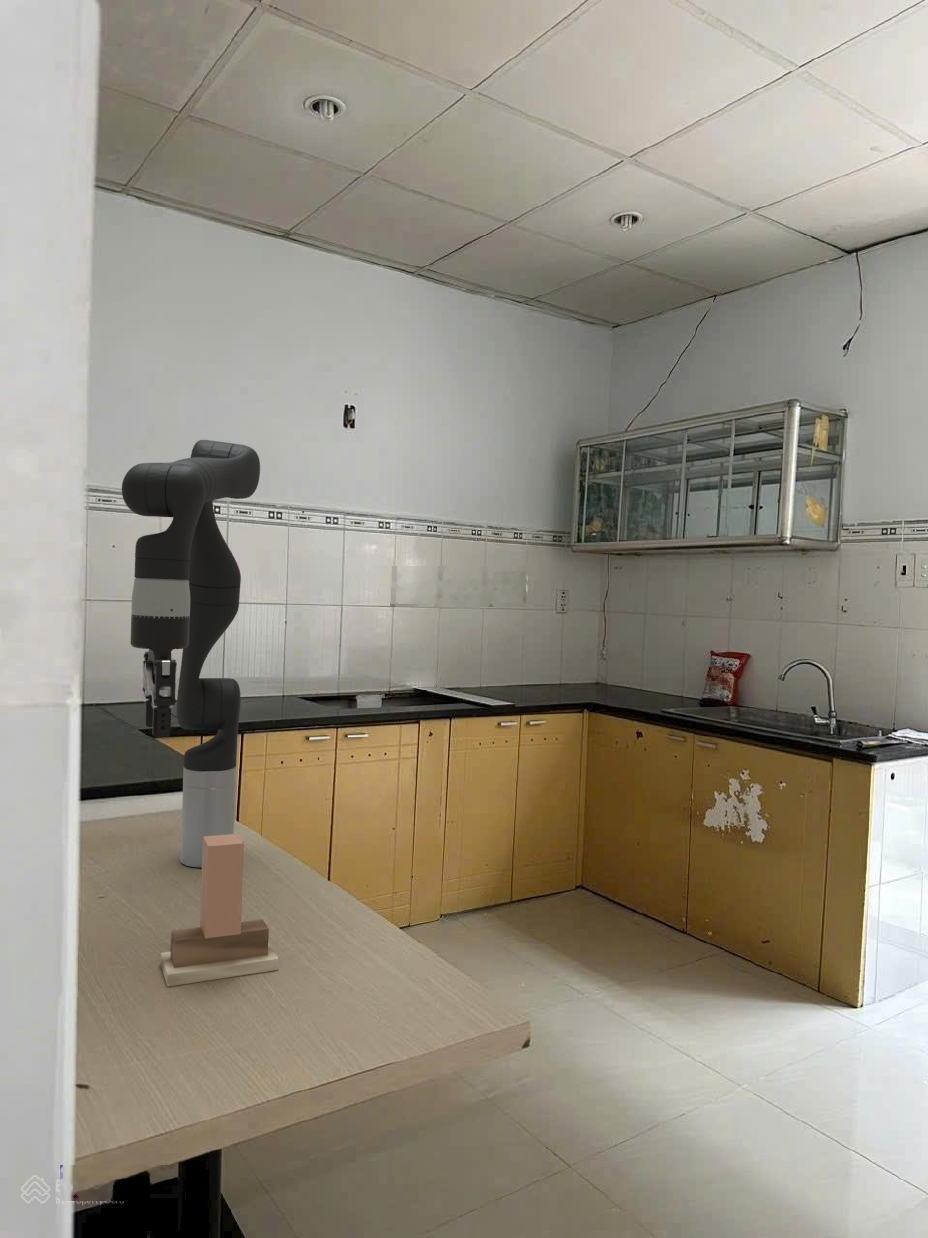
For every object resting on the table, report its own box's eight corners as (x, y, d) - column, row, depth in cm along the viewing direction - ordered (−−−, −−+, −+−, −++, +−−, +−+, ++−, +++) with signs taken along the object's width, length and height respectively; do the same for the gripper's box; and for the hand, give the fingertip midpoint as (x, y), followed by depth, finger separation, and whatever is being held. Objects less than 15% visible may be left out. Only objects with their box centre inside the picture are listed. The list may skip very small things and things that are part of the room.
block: (199, 925, 118) (202, 836, 117) (234, 921, 119) (237, 833, 119) (205, 938, 113) (208, 846, 113) (240, 934, 115) (243, 843, 115)
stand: (160, 964, 117) (161, 926, 117) (265, 949, 123) (267, 913, 123) (167, 986, 110) (168, 947, 110) (278, 970, 117) (279, 932, 116)
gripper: (198, 616, 115) (194, 739, 115) (181, 611, 128) (178, 722, 128) (136, 614, 111) (133, 742, 112) (126, 609, 124) (123, 724, 125)
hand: (157, 731), depth 120 cm, fingers open, 8 cm apart
